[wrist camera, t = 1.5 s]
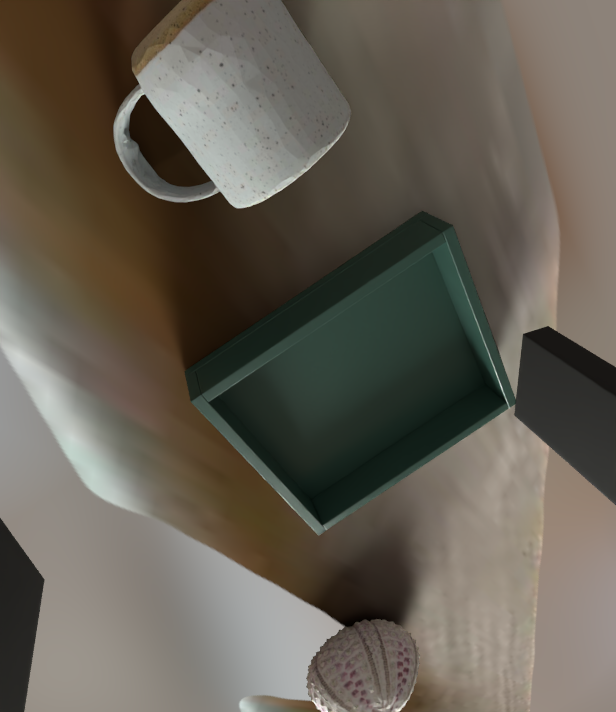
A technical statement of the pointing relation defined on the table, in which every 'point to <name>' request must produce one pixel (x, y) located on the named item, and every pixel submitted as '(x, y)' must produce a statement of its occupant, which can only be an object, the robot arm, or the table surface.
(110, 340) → the table surface
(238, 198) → the ceramic mug
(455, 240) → the tray
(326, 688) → the sea urchin shell
